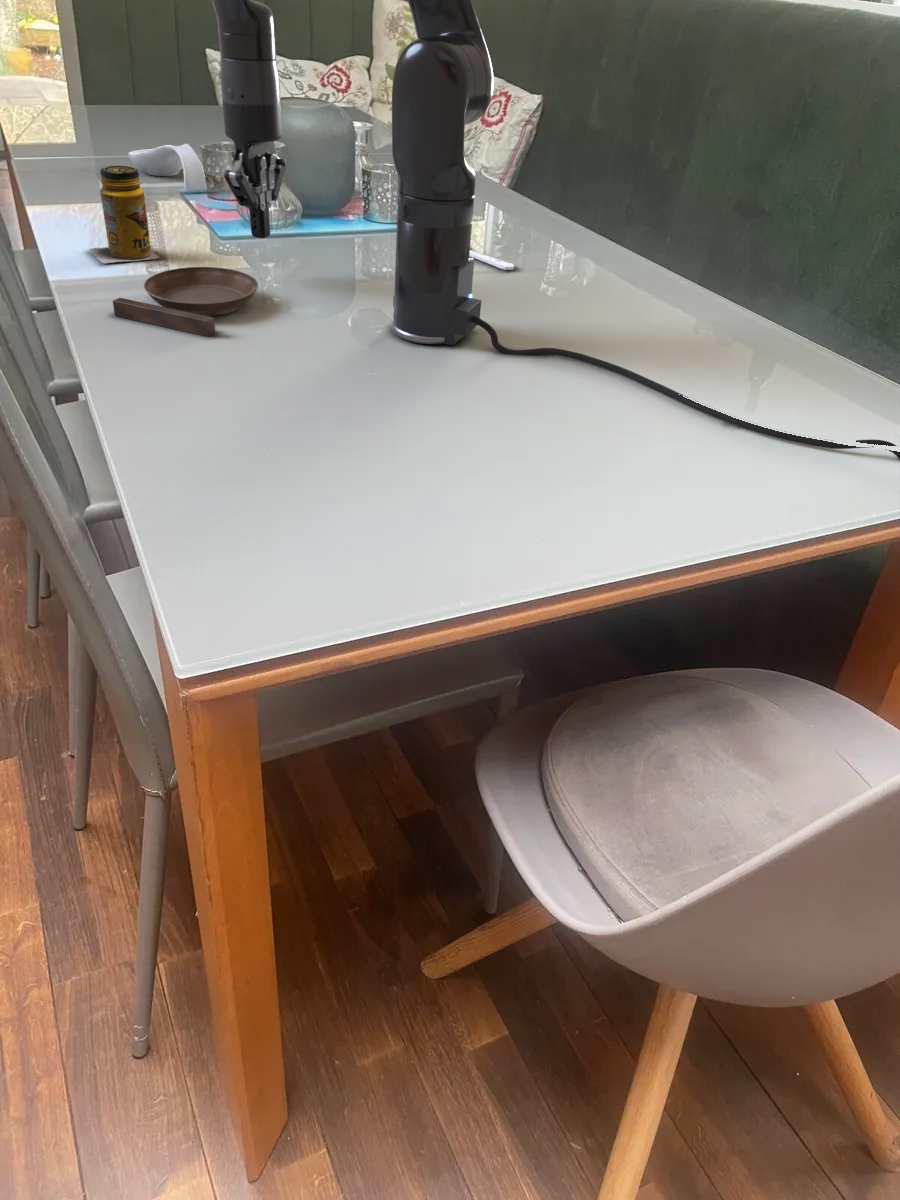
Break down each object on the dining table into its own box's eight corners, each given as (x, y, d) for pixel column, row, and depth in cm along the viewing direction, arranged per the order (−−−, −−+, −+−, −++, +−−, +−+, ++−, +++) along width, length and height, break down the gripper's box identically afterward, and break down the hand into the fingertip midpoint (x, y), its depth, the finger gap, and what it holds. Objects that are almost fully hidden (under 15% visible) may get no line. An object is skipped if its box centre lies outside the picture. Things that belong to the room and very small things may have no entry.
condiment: (160, 259, 134) (150, 172, 127) (103, 264, 130) (89, 175, 123) (144, 246, 139) (133, 162, 132) (89, 251, 135) (74, 164, 128)
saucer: (189, 331, 112) (187, 309, 110) (124, 299, 119) (121, 278, 118) (281, 307, 121) (281, 287, 120) (216, 279, 129) (214, 260, 127)
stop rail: (215, 333, 112) (214, 317, 111) (209, 337, 111) (207, 321, 110) (122, 312, 115) (119, 297, 114) (114, 316, 114) (112, 300, 113)
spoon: (500, 272, 141) (500, 268, 141) (423, 243, 151) (423, 240, 150) (523, 267, 144) (523, 263, 144) (446, 239, 154) (446, 236, 154)
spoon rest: (121, 168, 180) (116, 129, 176) (177, 164, 186) (173, 126, 182) (169, 195, 165) (165, 153, 161) (228, 190, 171) (225, 149, 167)
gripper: (250, 106, 111) (260, 251, 121) (301, 95, 121) (306, 230, 131) (197, 100, 112) (212, 243, 123) (252, 90, 123) (261, 223, 133)
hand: (261, 236), depth 127 cm, fingers closed
